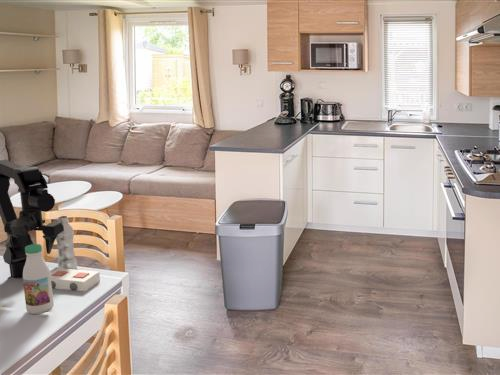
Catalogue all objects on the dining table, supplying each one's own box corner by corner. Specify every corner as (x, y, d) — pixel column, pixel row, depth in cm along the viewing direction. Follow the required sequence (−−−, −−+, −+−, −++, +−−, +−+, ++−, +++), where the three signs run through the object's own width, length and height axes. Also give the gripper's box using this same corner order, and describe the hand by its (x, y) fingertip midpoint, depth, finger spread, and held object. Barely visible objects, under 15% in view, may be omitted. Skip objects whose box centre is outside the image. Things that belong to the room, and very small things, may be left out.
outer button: (73, 281, 179) (73, 276, 178) (79, 277, 182) (79, 272, 182) (83, 282, 178) (82, 277, 177) (89, 278, 181) (88, 273, 181)
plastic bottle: (80, 268, 198) (75, 214, 193) (73, 275, 191) (67, 219, 187) (63, 267, 198) (58, 214, 194) (55, 274, 192) (49, 219, 188)
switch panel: (40, 289, 179) (38, 277, 179) (57, 278, 188) (56, 267, 187) (84, 293, 175) (83, 281, 174) (100, 282, 184) (99, 270, 183)
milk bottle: (33, 303, 168) (25, 241, 164) (57, 303, 168) (51, 241, 164) (22, 315, 161) (14, 250, 157) (48, 314, 161) (40, 250, 156)
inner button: (52, 279, 181) (51, 274, 181) (59, 275, 184) (58, 270, 184) (61, 280, 180) (61, 275, 180) (68, 276, 183) (67, 271, 183)
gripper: (-11, 211, 170) (-5, 258, 174) (40, 214, 165) (46, 263, 169) (13, 202, 181) (18, 247, 184) (62, 205, 176) (67, 251, 179)
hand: (36, 252), depth 179 cm, fingers open, 9 cm apart
